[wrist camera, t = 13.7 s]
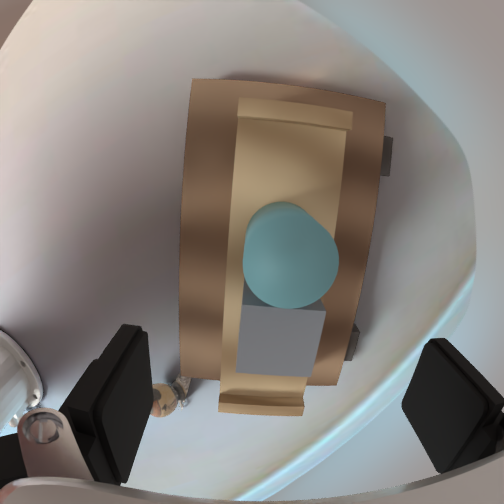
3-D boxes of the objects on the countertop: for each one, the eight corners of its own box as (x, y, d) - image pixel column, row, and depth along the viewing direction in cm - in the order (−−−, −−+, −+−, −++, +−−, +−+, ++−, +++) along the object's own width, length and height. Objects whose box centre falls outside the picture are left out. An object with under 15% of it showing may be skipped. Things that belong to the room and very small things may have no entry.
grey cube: (301, 339, 19) (310, 376, 16) (238, 334, 19) (235, 372, 15) (311, 281, 18) (326, 311, 14) (244, 275, 18) (242, 304, 14)
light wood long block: (294, 372, 25) (301, 416, 20) (224, 367, 25) (218, 411, 20) (328, 124, 20) (352, 112, 15) (242, 114, 20) (239, 97, 15)
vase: (135, 393, 30) (118, 426, 24) (143, 355, 29) (123, 387, 23) (182, 409, 30) (171, 446, 25) (193, 372, 29) (182, 409, 24)
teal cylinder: (310, 273, 18) (329, 311, 13) (242, 267, 18) (238, 304, 13) (320, 206, 17) (346, 222, 12) (249, 197, 17) (247, 210, 12)
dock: (339, 366, 29) (346, 385, 26) (186, 357, 28) (180, 376, 26) (382, 111, 22) (397, 105, 19) (199, 88, 22) (192, 78, 19)
